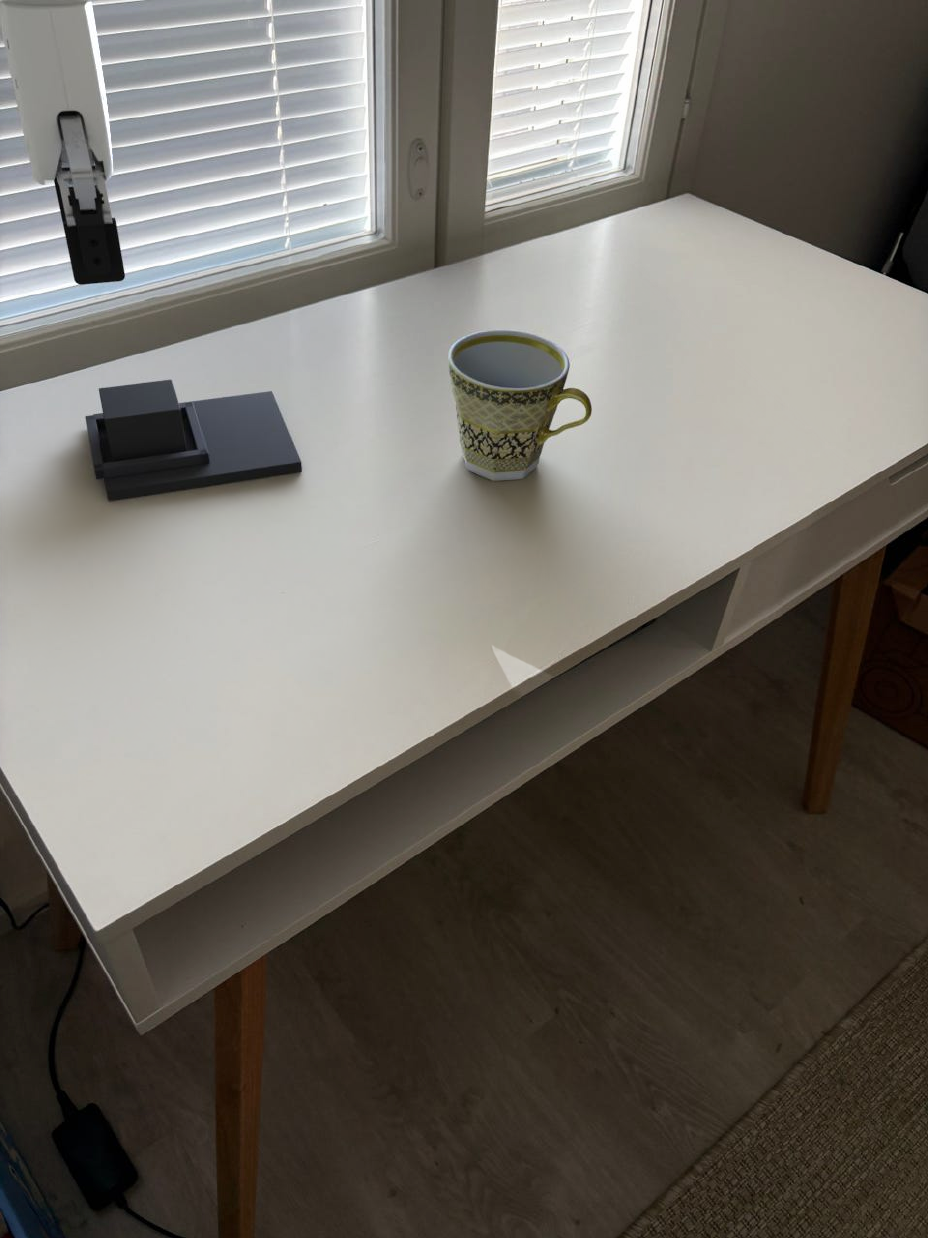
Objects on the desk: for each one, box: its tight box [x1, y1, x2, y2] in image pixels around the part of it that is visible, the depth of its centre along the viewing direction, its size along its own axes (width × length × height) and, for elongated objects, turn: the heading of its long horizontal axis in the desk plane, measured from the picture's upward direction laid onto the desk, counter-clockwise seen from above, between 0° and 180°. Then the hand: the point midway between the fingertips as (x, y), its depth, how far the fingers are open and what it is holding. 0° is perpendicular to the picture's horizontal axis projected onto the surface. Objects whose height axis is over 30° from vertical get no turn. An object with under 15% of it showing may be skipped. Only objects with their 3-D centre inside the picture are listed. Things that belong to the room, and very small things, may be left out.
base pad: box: [84, 390, 303, 502], centre depth 88 cm, size 17×12×2 cm
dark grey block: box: [98, 379, 187, 462], centre depth 85 cm, size 6×5×4 cm
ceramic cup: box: [447, 329, 593, 482], centre depth 86 cm, size 13×10×10 cm
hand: (93, 251), depth 70 cm, fingers open, 9 cm apart
